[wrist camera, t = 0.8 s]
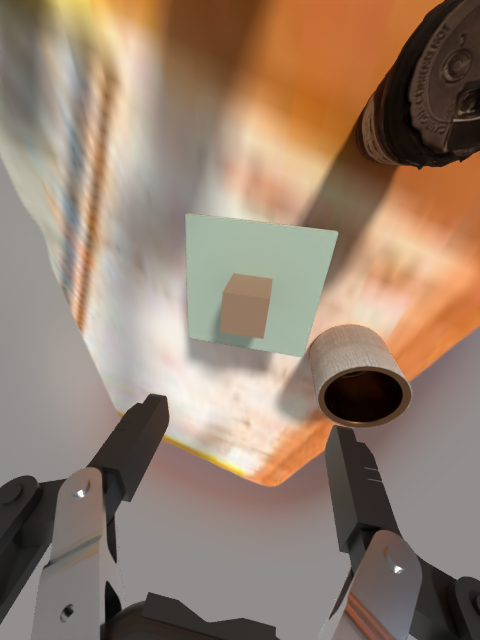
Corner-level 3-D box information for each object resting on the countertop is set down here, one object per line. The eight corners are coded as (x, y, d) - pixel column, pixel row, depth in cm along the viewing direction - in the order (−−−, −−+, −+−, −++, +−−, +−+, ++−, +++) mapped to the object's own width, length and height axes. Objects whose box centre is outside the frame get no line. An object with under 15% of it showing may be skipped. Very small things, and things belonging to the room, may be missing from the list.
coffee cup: (382, 195, 26) (455, 201, 15) (325, 146, 25) (358, 113, 14) (460, 107, 22) (642, 25, 11) (396, 43, 21) (526, -124, 10)
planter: (329, 312, 34) (343, 352, 26) (399, 337, 34) (436, 384, 26) (298, 365, 40) (301, 412, 31) (358, 386, 40) (378, 439, 32)
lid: (191, 212, 23) (161, 220, 18) (335, 229, 22) (352, 244, 16) (192, 331, 30) (171, 363, 25) (302, 349, 29) (306, 388, 23)
